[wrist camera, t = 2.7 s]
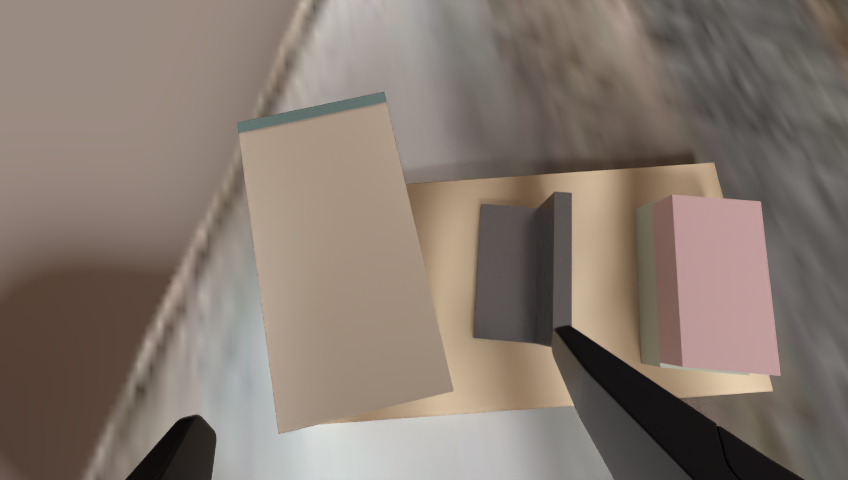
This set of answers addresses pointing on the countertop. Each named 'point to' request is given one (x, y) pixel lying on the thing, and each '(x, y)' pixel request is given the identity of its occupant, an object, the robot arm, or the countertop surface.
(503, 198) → the shelf plank
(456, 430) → the countertop surface
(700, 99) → the countertop surface
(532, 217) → the metal bookend
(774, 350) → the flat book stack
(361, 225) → the boxed book
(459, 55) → the countertop surface
